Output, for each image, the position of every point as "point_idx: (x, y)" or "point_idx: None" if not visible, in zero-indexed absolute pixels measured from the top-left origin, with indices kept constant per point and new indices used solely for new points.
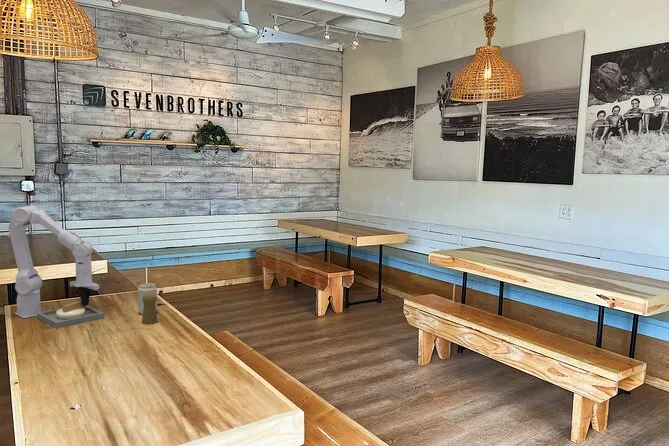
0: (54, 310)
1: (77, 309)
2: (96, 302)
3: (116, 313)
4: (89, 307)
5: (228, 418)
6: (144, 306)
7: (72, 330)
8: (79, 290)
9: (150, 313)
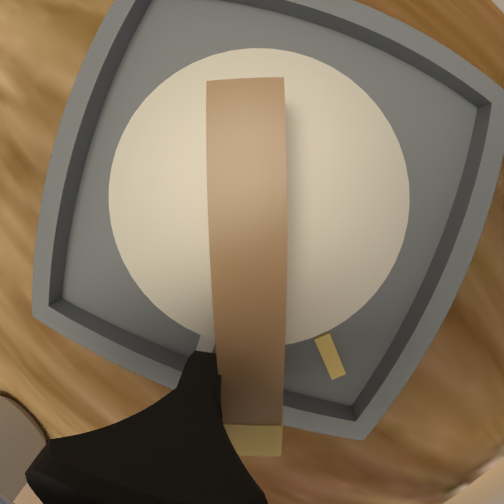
0: (469, 204)
1: (207, 260)
2: (368, 494)
3: (89, 400)
4: None
5: None
6: None
7: (49, 34)
8: (91, 482)
9: None
